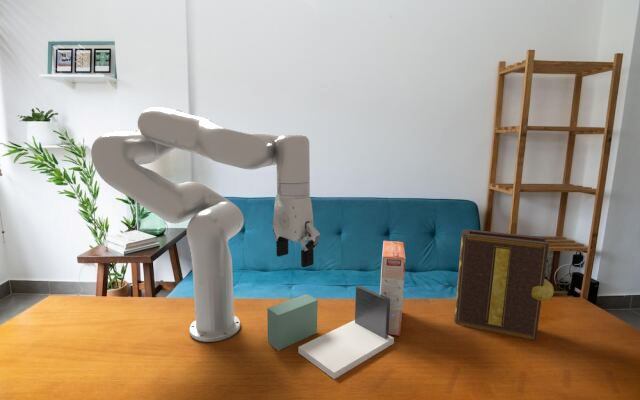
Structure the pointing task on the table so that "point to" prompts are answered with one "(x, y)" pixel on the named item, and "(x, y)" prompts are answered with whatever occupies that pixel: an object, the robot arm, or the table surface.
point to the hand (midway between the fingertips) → (294, 260)
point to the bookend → (372, 311)
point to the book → (502, 282)
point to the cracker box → (393, 281)
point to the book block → (292, 321)
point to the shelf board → (343, 348)
